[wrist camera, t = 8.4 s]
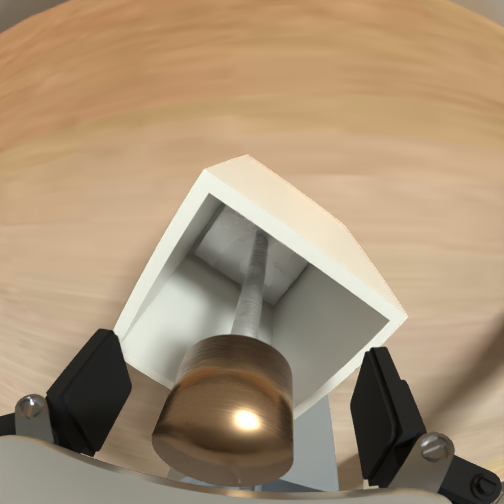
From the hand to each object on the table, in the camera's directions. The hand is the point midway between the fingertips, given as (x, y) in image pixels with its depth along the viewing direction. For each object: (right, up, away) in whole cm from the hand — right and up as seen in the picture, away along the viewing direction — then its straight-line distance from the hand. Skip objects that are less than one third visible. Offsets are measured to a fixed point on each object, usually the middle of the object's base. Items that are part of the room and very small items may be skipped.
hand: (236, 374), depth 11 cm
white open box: (+1, +6, +16) cm, 17 cm away
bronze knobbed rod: (+1, +5, +15) cm, 16 cm away
